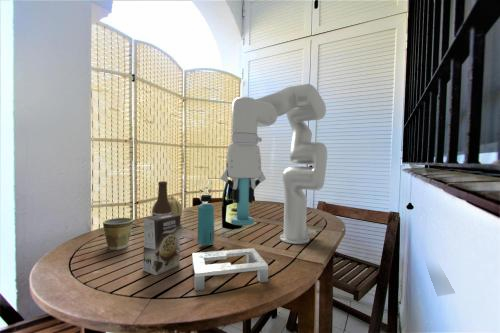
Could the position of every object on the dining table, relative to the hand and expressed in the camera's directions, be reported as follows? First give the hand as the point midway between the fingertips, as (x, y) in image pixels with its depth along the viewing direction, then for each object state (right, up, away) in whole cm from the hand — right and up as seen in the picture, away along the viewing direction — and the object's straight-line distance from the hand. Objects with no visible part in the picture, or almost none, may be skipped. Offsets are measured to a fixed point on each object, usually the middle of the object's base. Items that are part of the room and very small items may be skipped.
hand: (243, 201), depth 73 cm
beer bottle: (-36, -20, +32) cm, 52 cm away
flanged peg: (0, -6, 0) cm, 6 cm away
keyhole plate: (-4, -21, -1) cm, 22 cm away
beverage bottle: (-15, -21, +22) cm, 34 cm away
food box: (-25, -21, +3) cm, 33 cm away
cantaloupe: (-40, -20, +51) cm, 67 cm away
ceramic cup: (-49, -20, +21) cm, 57 cm away
